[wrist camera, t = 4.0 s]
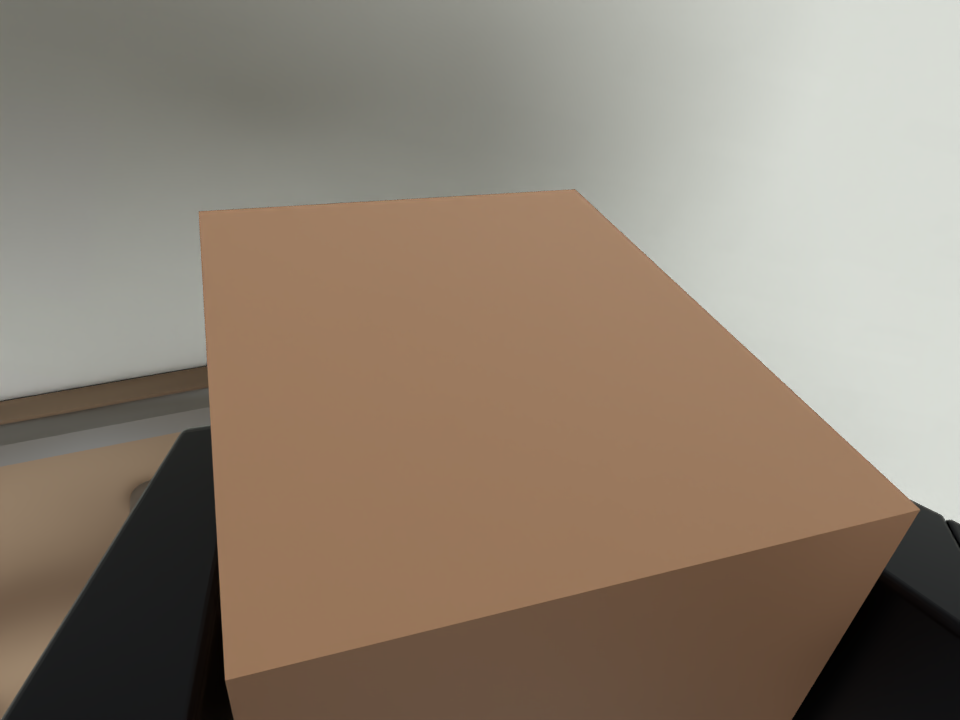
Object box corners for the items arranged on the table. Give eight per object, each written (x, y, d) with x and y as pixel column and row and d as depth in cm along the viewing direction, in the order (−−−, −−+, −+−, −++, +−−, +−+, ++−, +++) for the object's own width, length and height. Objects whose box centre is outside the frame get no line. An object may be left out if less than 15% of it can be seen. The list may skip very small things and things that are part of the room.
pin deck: (542, 589, 30) (565, 637, 28) (-66, 762, 24) (-85, 835, 22) (574, 302, 22) (609, 345, 20) (-343, 460, 16) (-407, 539, 14)
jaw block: (533, 451, 10) (734, 812, 7) (244, 503, 9) (291, 977, 5) (574, 189, 8) (918, 510, 4) (199, 211, 7) (226, 679, 3)
